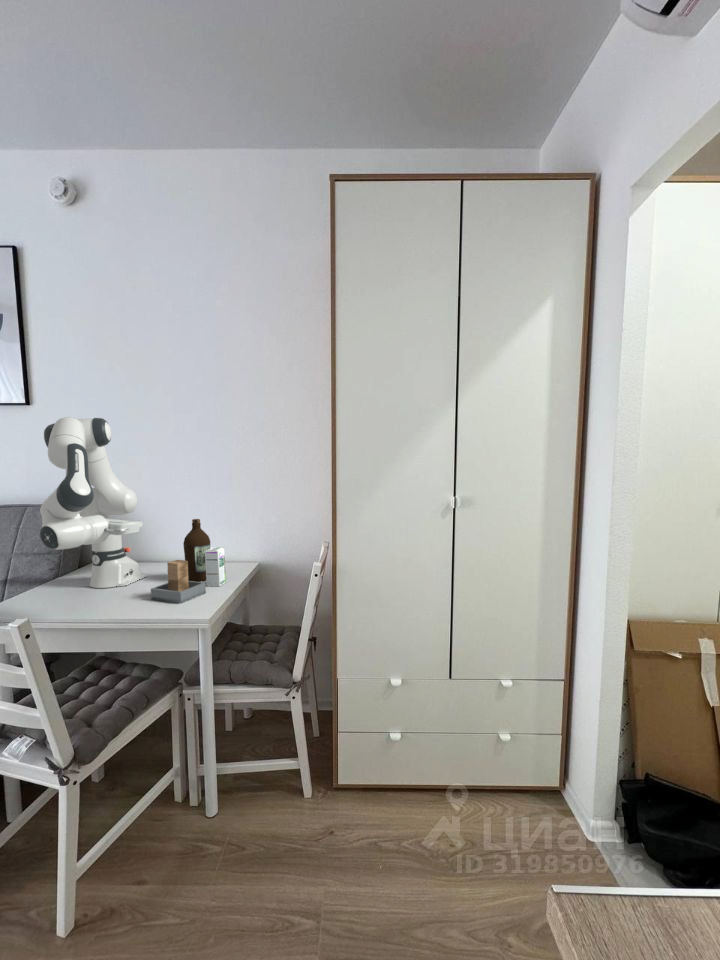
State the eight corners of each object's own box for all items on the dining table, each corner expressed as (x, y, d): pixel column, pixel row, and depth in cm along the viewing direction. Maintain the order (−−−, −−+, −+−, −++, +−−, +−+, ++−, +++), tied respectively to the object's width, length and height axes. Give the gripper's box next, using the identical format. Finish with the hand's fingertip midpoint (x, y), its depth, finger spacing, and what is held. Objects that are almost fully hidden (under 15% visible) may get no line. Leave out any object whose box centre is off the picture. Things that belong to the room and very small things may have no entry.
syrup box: (220, 586, 217) (218, 550, 215) (206, 586, 218) (204, 550, 217) (226, 583, 222) (224, 547, 221) (212, 582, 223) (211, 547, 222)
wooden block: (178, 596, 201) (177, 563, 200) (168, 594, 204) (167, 562, 203) (188, 592, 206) (187, 560, 205) (179, 591, 208) (177, 559, 207)
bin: (177, 589, 214) (176, 579, 213) (205, 593, 208) (205, 582, 208) (151, 599, 201) (150, 588, 201) (181, 603, 196) (180, 592, 195)
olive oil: (179, 579, 228) (177, 519, 226) (202, 574, 236) (200, 516, 234) (194, 584, 221) (191, 522, 219) (216, 578, 229) (214, 518, 227)
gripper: (117, 521, 171) (152, 515, 183) (74, 517, 180) (111, 511, 192) (118, 541, 171) (153, 534, 183) (75, 536, 181) (112, 529, 193)
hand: (131, 522), depth 188 cm, fingers open, 8 cm apart
